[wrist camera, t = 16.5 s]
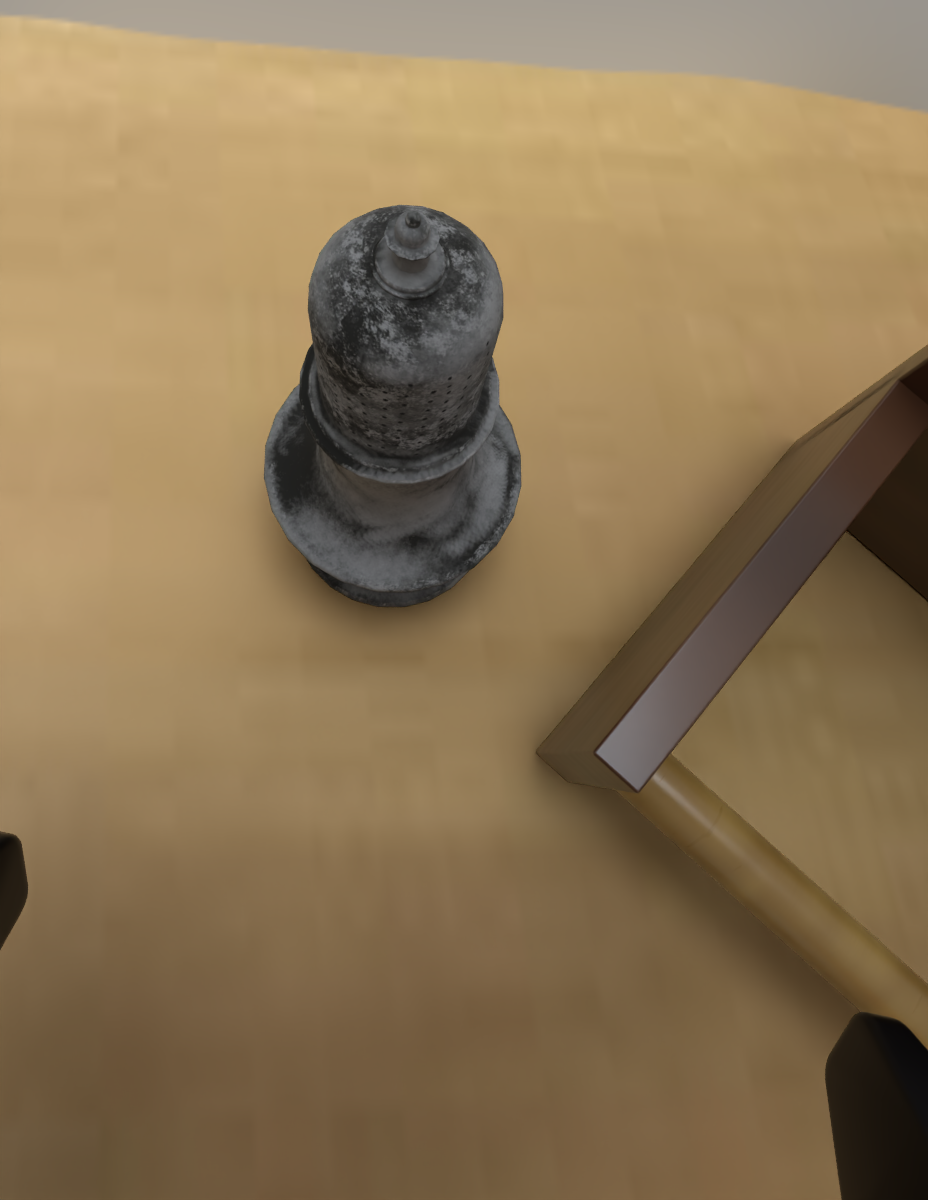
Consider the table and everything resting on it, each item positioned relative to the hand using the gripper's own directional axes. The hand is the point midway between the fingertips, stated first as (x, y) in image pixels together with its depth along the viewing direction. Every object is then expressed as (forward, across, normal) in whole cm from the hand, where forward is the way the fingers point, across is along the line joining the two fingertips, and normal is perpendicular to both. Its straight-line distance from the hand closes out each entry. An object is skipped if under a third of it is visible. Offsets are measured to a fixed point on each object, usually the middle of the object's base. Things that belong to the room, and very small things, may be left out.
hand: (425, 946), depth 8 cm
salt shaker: (+14, +3, +1) cm, 14 cm away
